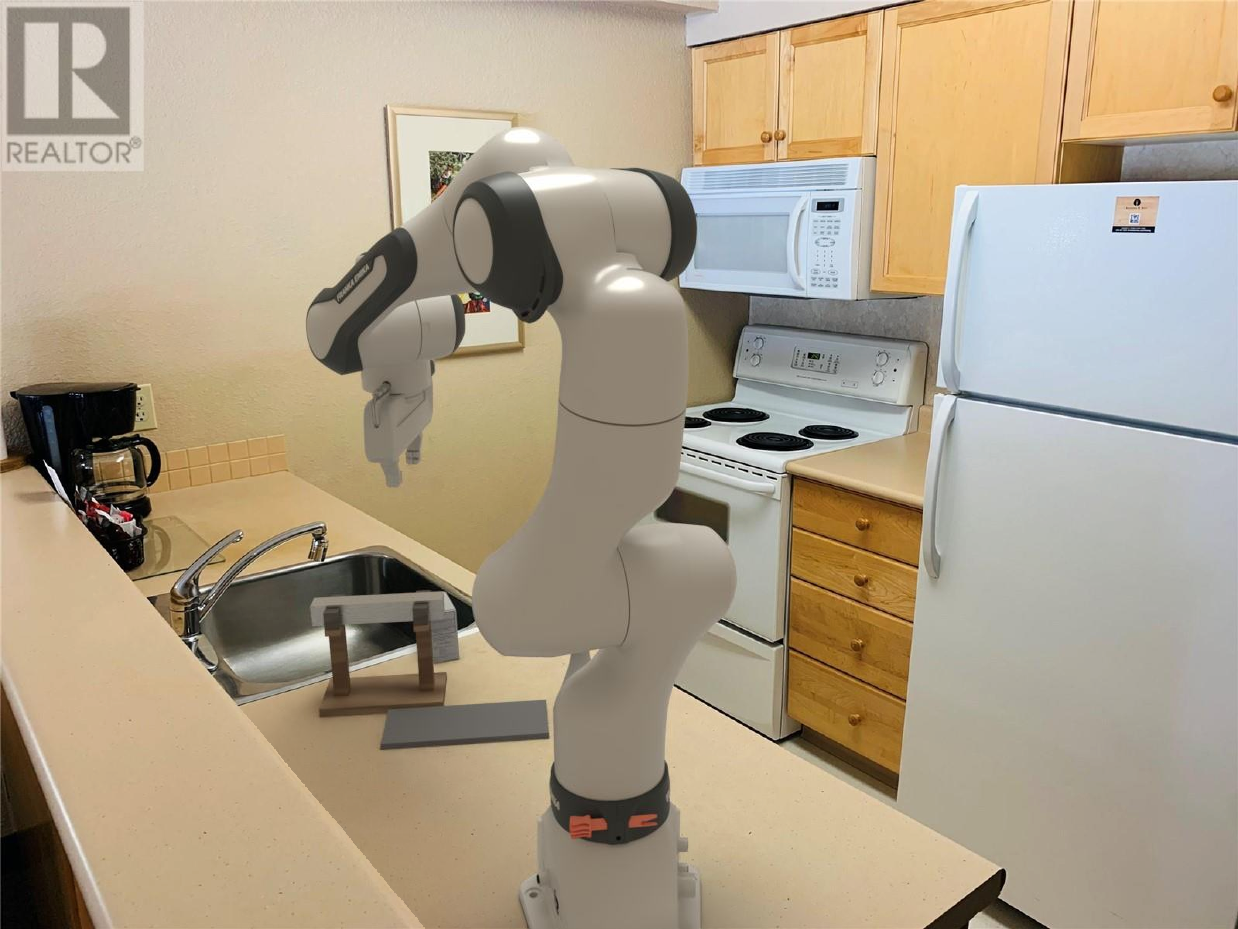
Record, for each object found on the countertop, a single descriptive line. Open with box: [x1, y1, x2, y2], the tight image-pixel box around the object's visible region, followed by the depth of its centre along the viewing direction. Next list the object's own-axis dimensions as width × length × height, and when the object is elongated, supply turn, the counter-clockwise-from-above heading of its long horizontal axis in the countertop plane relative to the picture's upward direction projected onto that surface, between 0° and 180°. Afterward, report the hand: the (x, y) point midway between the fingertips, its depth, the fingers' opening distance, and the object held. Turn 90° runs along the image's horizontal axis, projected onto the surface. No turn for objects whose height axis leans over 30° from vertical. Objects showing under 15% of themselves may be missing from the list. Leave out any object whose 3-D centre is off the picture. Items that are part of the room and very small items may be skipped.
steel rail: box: [309, 591, 445, 627], centre depth 135 cm, size 3×18×3 cm, turn 97°
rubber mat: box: [380, 699, 550, 750], centre depth 131 cm, size 9×22×1 cm, turn 97°
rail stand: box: [318, 589, 448, 718], centre depth 136 cm, size 9×17×15 cm, turn 97°
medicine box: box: [431, 591, 460, 664], centre depth 151 cm, size 8×4×9 cm, turn 22°
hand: (404, 474), depth 130 cm, fingers open, 8 cm apart
